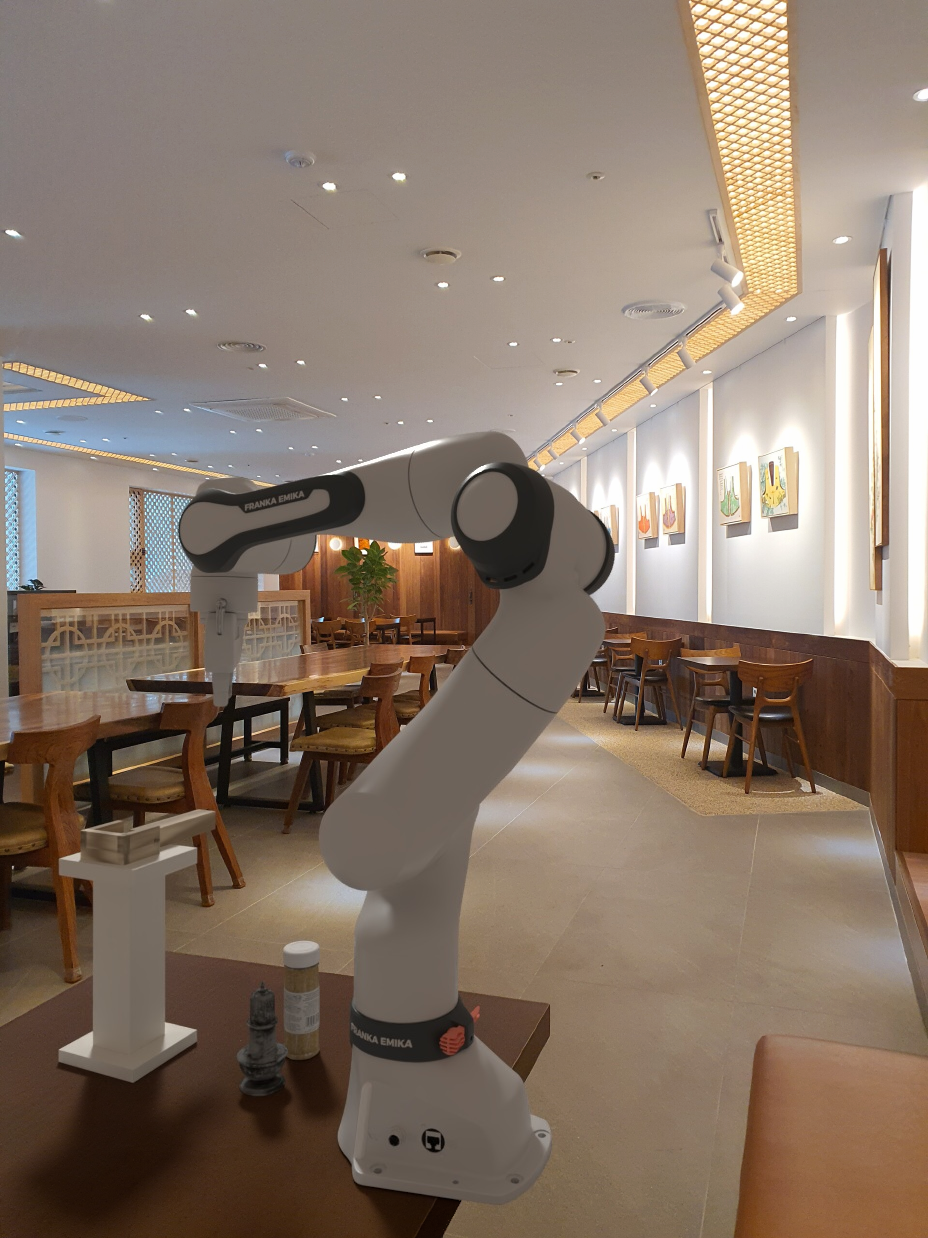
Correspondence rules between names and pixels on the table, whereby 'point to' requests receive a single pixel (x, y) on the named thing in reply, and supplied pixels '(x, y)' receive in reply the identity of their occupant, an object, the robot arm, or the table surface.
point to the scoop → (141, 837)
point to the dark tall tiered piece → (262, 1048)
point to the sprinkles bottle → (301, 999)
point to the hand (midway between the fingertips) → (222, 702)
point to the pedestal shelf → (128, 966)
